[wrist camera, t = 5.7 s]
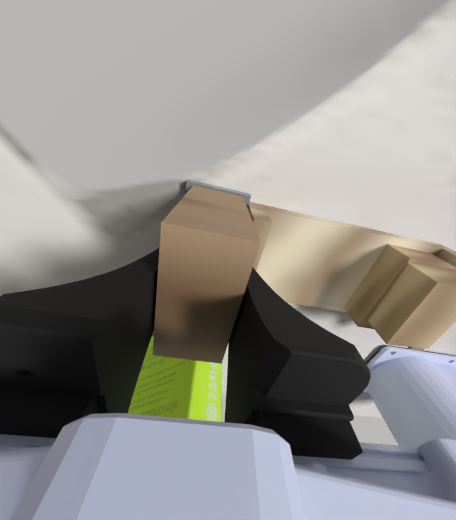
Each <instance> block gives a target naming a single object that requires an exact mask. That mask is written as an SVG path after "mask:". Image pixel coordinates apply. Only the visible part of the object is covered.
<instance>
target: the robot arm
mask: <svg viewBox="0 0 456 520" xmlns="http://www.w3.org/2000/svg"><path fill="white" fill-rule="evenodd" d="M158 263H159V248H158V249H157V250H155V251H153V252H152V253H150V254H148V255H146V256H145V257H143V258H141V259H139V260H137V261H135V262H133V263H131V264H129V265H126V266H124V267H121V268H119V269H116V270H114V271H111V272H108V273H105V274H102V275H98V276H95V277H92V278H88V279H85V280H81V281H77V282H73V283H68V284H63V285H59V286H54V287H48V288H43V289H36V290H29V291H23V292H16V293H9V294H4V295H2V296H1V297H0V520H456V356H450V355H443V354H437V353H430V352H423V351H417V350H410V349H403V348H397V347H390V346H386V347H383V348H382V349H381V350H380V351H379V352H378V353H377V355H376V356H375V357H374V358H373V359H372V360H371V361H370V362H369V363H368V364H367V365H366V363H365V362H364V360H363V358H362V357H361V355H360V354H359V352H358V350H357V349H356V347H355V346H354V345H353V344H351V343H349V342H347V341H345V340H343V339H342V338H340V337H338V336H336V335H334V334H332V333H330V332H329V331H327V330H325V329H324V328H322V327H320V326H319V325H317V324H316V323H314V322H312V321H311V320H309V319H308V318H306V317H305V316H304V315H302V314H301V313H299V312H298V311H297V310H295V309H294V308H293V307H291V306H290V305H289V304H288V303H287V302H285V301H284V300H283V299H282V298H281V297H280V296H279V295H278V294H277V293H275V292H274V291H273V290H272V288H271V287H270V286H269V285H268V284H267V283H266V282H265V281H264V280H263V279H262V278H261V276H260V275H259V274H258V273H257V271H256V270H255V269H254V268H252V271H251V274H250V277H249V280H248V283H247V286H246V289H245V292H244V295H243V299H242V302H241V305H240V308H239V311H238V314H237V317H236V320H235V323H234V326H233V329H232V332H231V336H230V339H229V348H228V374H227V393H226V410H225V422H216V421H205V420H193V419H182V418H171V417H160V416H149V415H137V414H127V413H128V410H129V407H130V403H131V400H132V397H133V393H134V390H135V387H136V384H137V380H138V377H139V374H140V371H141V368H142V364H143V361H144V358H145V355H146V352H147V349H148V346H149V343H150V340H151V337H152V334H153V331H154V325H155V309H156V294H157V279H158ZM362 392H365V393H369V394H370V396H371V398H372V399H373V401H374V403H375V405H376V406H377V408H378V410H379V412H380V413H381V415H382V417H383V419H384V420H385V422H386V424H387V425H388V427H389V429H390V431H391V433H392V434H393V436H394V438H395V439H396V441H397V443H398V445H399V446H395V445H383V444H371V443H359V441H358V439H357V437H356V435H355V432H354V430H353V428H352V426H351V424H350V421H352V420H353V419H354V416H353V414H352V412H351V409H350V407H349V404H350V403H351V402H352V401H353V400H354V399H355V398H357V397H358V396H359V395H360V394H361V393H362Z"/></svg>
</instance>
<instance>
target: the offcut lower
mask: <svg viewBox="0 0 456 520" xmlns="http://www.w3.org/2000/svg"><path fill="white" fill-rule="evenodd" d="M408 263H412V264H420V265H427V266H435V267H442V268H450V269H454V270H455V271H456V267H455V266H453V265H452V264H450V263H448V262H446V261H444V260H442V259H441V258H439V257H437V256H435V255H433V254H431V253H427V252H422V251H418V250H413V249H408V248H404V247H399V246H395V245H390V244H387V245H386V247H385V248H384V250H383V251H382V253H381V254H380V256H379V257H378V258H377V260H376V261H375V263H374V264H373V266H372V267H371V269H370V270H369V272H368V273H367V274H366V276H365V277H364V279H363V280H362V282H361V283H360V285H359V286H358V288H357V289H356V291H355V292H354V293H353V295H352V296H351V298H350V299H349V301H348V302H347V304H346V305H345V307H344V308H345V310H346V311H347V312H348V314H349V315H350V317H351V318H352V319H353V321H354V322H355V324H356V325H357V326H358V327H365V328H371V329H374V328H373V327H372V325H371V324H370V323H369V322H368V320H369V318H370V317H371V315H372V314H373V312H374V311H375V310H376V308H377V307H378V305H379V304H380V302H381V301H382V300H383V298H384V297H385V295H386V294H387V292H388V291H389V290H390V288H391V287H392V285H393V284H394V282H395V281H396V280H397V278H398V277H399V275H400V274H401V273H402V271H403V270H404V268H405V267H406V265H407V264H408Z"/></svg>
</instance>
